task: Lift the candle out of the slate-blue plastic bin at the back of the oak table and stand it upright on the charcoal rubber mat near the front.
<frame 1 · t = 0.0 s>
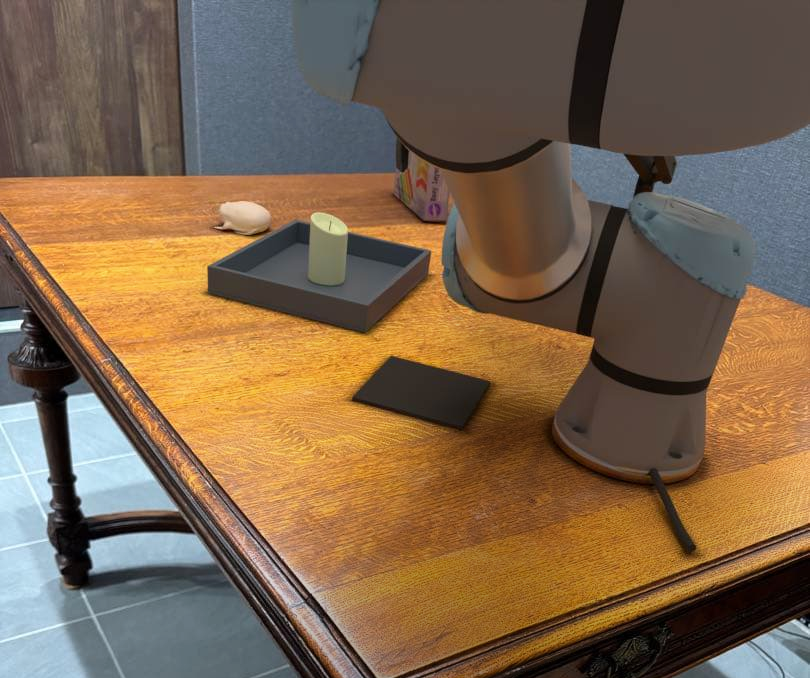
hand: (577, 205, 100), 15 cm above the table, tool tilted 35°, fingers open, 13 cm apart
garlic: (243, 229, 126), on the table
cake pan box: (416, 209, 147), on the table
bin: (325, 283, 111), on the table
candle: (326, 280, 111), resting on bin
mat: (423, 391, 88), on the table
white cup: (521, 309, 112), on the table
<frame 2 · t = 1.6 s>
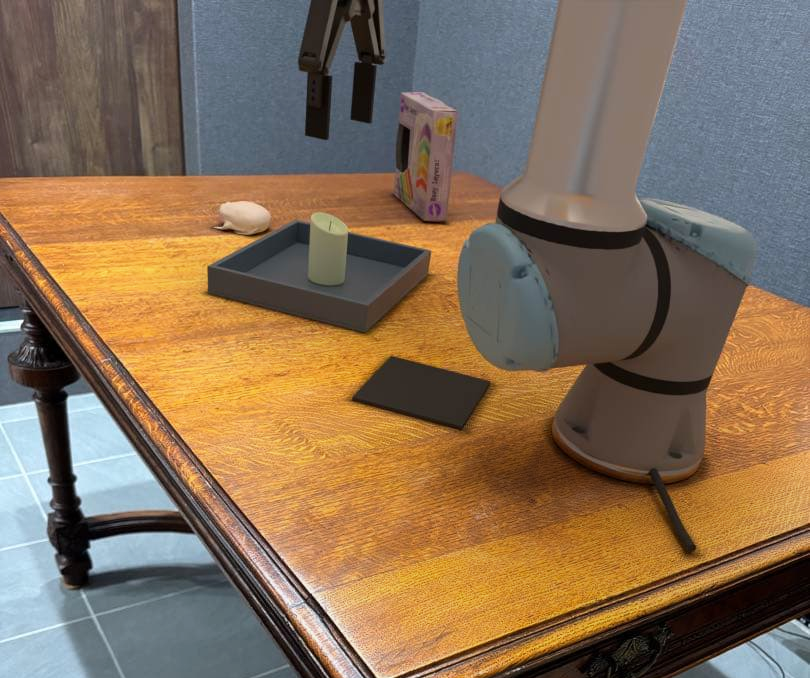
hand: (340, 129, 100), 19 cm above the table, tool pointing down, fingers open, 13 cm apart
nothing on the table moved.
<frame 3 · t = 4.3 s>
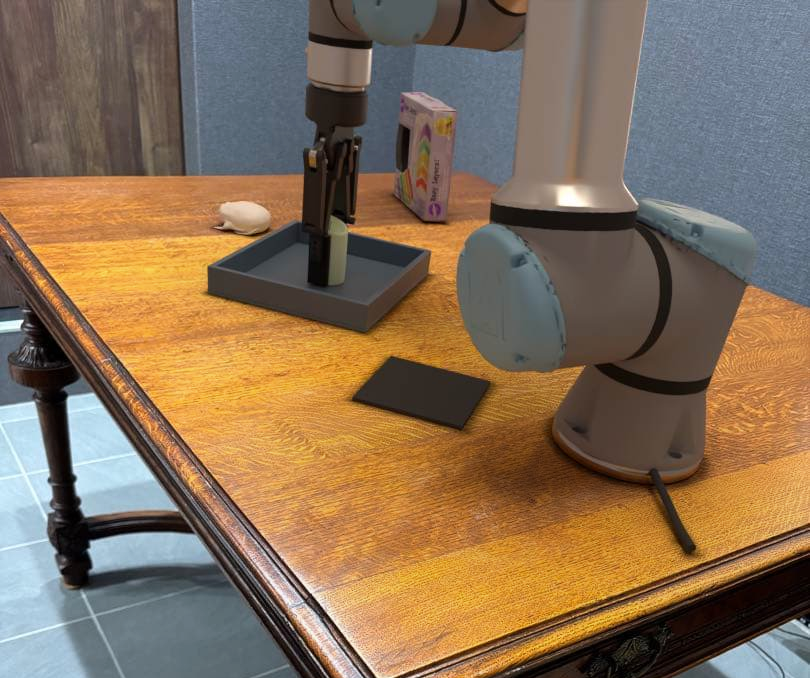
hand: (326, 277, 110), 1 cm above the table, tool pointing down, fingers closed on bin, candle, 5 cm apart
candle: (326, 280, 111), resting on bin, touching gripper
everything else where it was.
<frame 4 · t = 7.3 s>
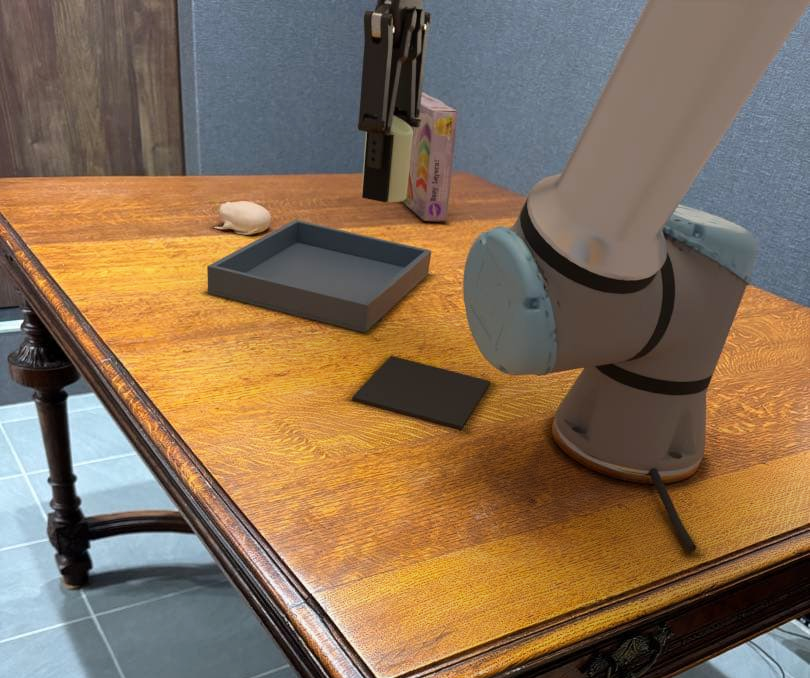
hand: (384, 194, 89), 16 cm above the table, tool pointing down, fingers closed on candle, 5 cm apart
candle: (383, 198, 90), point 16 cm above the table, touching gripper
everything else where it was.
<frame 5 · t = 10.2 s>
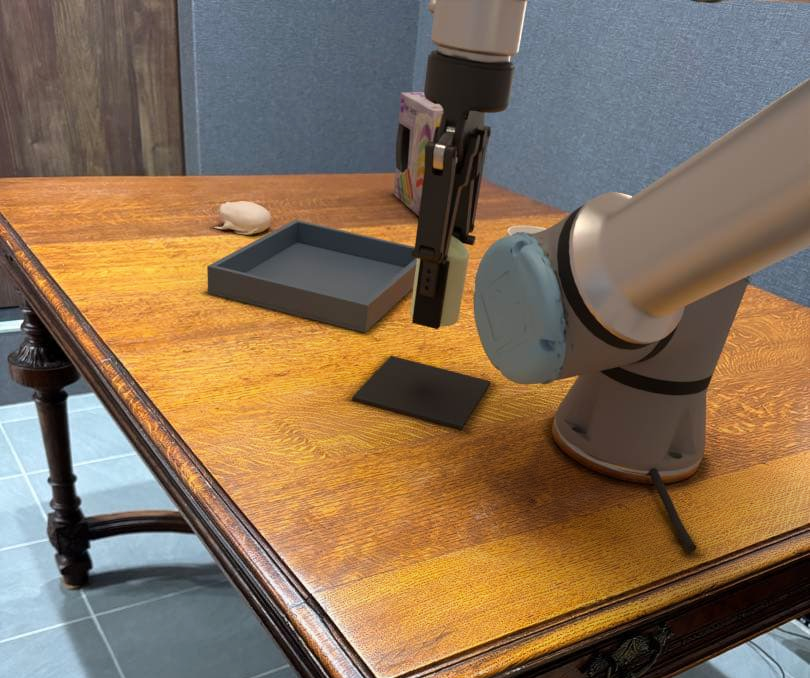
hand: (434, 315, 83), 9 cm above the table, tool pointing down, fingers closed on candle, 5 cm apart
candle: (433, 319, 83), point 8 cm above the table, touching gripper
everything else where it was.
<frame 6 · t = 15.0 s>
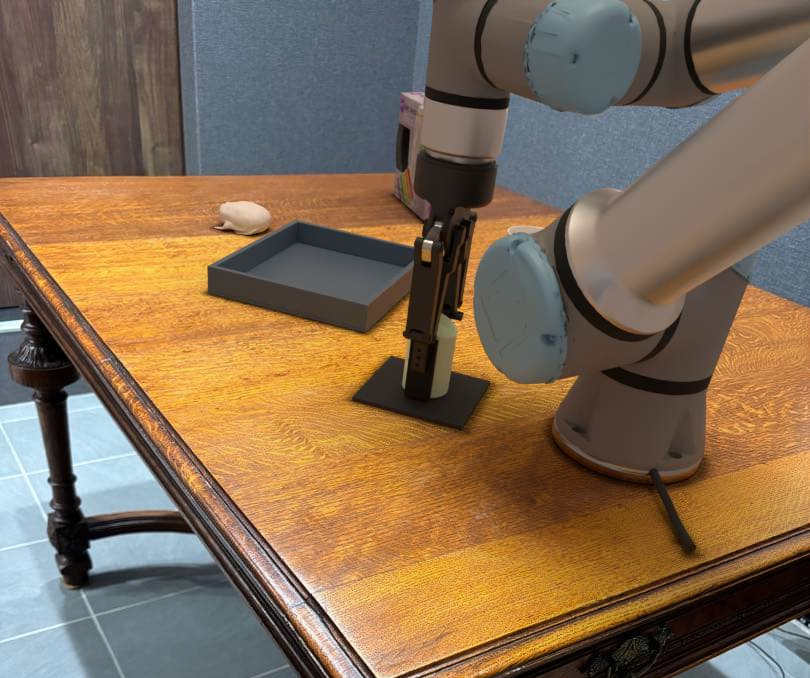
hand: (425, 386, 87), 1 cm above the table, tool pointing down, fingers closed on candle, 5 cm apart
candle: (424, 389, 88), resting on mat, touching gripper
everything else where it was.
when the fingers open (2 cm above the table, at t = 16.2 s): candle stays where it is, resting on mat.
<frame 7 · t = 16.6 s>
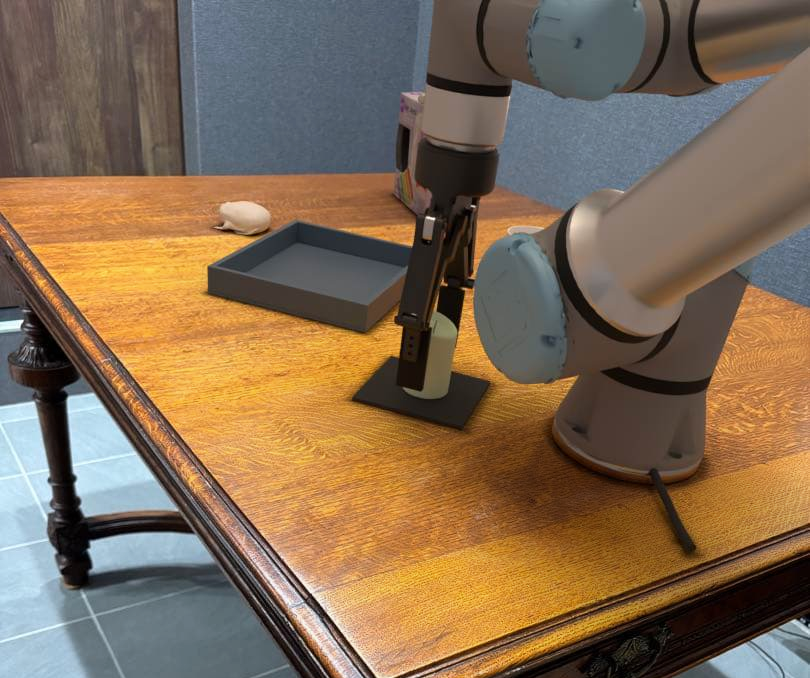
hand: (427, 365, 86), 3 cm above the table, tool pointing down, fingers open, 11 cm apart
candle: (424, 390, 88), resting on mat
everything else where it was.
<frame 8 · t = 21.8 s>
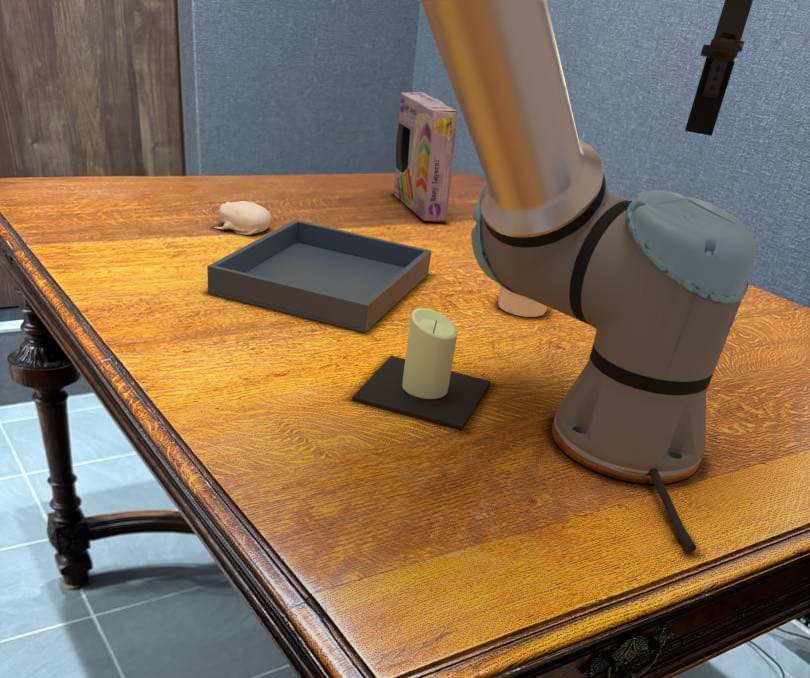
hand: (700, 124, 88), 27 cm above the table, tool pointing down, fingers open, 13 cm apart
nothing on the table moved.
at the end: candle inside the target area on the mat (0.1 cm from its centre), point 0.2 cm above the mat's base; candle tilted 0°; candle touching mat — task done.
